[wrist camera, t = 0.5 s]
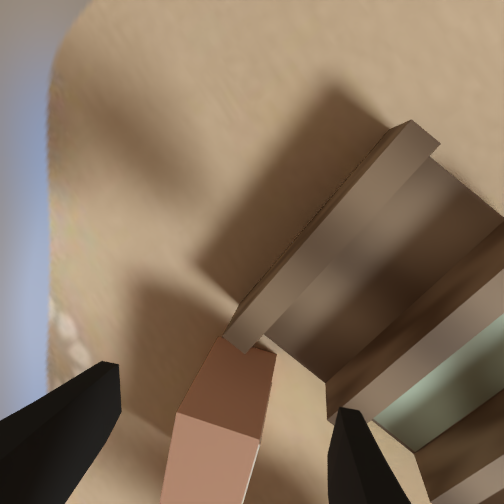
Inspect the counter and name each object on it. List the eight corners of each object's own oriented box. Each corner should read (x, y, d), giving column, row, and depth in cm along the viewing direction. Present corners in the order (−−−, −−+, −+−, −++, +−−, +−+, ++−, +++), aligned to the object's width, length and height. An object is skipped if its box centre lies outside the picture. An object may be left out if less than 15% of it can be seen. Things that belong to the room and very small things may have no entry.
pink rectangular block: (279, 354, 21) (263, 440, 15) (246, 468, 24) (221, 583, 18) (216, 335, 22) (173, 411, 15) (192, 449, 25) (147, 554, 18)
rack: (510, 521, 21) (553, 599, 17) (239, 304, 21) (222, 336, 17) (721, 402, 17) (836, 470, 13) (389, 129, 17) (411, 119, 13)
